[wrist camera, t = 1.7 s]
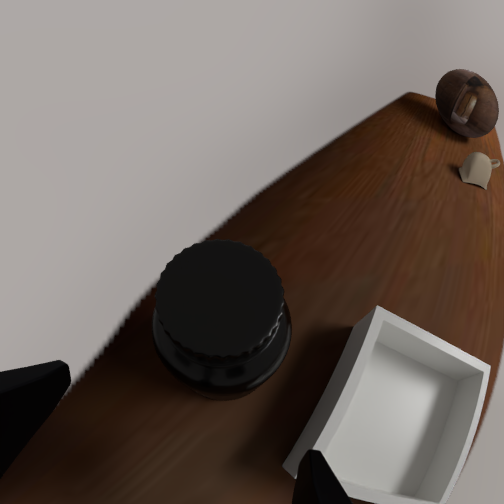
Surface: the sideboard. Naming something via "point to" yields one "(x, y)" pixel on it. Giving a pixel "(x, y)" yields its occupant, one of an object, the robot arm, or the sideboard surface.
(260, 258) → the supplement bottle
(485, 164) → the beige rounded piece
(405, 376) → the tray
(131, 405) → the sideboard surface
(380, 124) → the sideboard surface
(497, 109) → the dark glossy egg
